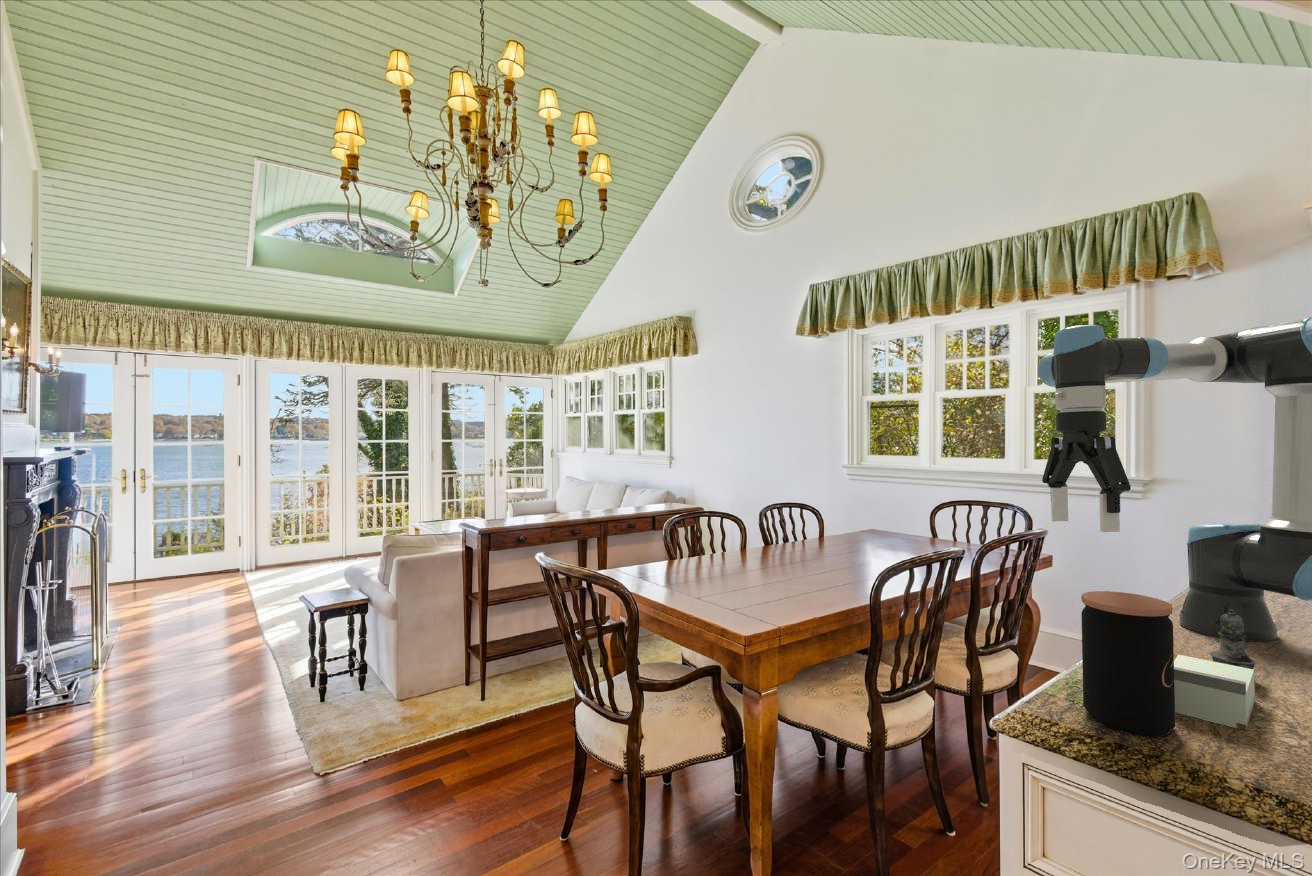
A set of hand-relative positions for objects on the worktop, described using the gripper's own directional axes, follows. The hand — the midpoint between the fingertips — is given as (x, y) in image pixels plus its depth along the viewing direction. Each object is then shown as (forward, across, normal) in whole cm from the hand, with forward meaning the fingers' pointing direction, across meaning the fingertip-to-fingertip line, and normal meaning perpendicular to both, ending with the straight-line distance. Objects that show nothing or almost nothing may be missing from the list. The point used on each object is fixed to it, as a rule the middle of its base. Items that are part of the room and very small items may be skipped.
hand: (1083, 526), depth 107 cm
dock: (+26, +16, +8) cm, 31 cm away
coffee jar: (+26, +21, -8) cm, 34 cm away
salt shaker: (+26, +4, +22) cm, 34 cm away
